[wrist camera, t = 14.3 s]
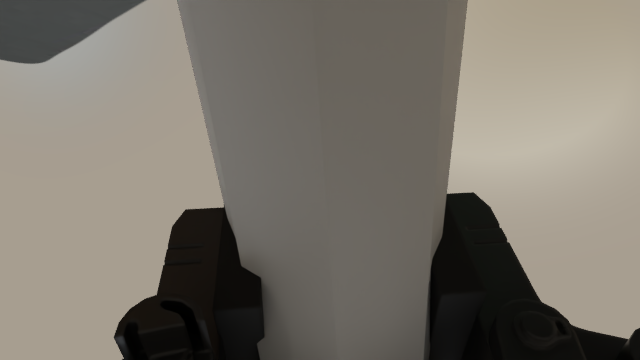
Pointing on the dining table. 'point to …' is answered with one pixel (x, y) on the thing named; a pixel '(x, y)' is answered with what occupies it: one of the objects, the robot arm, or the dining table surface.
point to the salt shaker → (332, 161)
